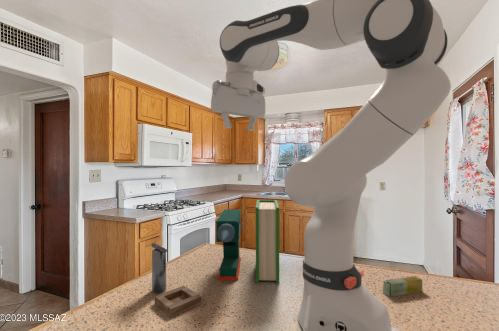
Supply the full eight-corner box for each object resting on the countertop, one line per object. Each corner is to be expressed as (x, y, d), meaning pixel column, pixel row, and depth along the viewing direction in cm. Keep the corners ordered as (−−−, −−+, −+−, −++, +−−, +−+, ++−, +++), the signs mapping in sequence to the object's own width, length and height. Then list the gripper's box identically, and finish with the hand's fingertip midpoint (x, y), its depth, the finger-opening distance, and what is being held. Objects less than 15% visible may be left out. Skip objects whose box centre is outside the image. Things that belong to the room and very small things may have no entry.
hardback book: (279, 283, 84) (279, 207, 84) (255, 283, 85) (255, 207, 85) (276, 262, 102) (276, 200, 102) (257, 262, 102) (257, 200, 102)
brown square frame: (201, 303, 72) (201, 296, 72) (170, 317, 66) (170, 309, 66) (183, 292, 79) (183, 285, 79) (154, 303, 72) (154, 296, 72)
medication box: (389, 298, 75) (389, 284, 75) (382, 293, 78) (382, 279, 78) (422, 292, 79) (423, 278, 79) (414, 288, 81) (415, 275, 81)
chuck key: (172, 292, 78) (172, 247, 78) (159, 297, 76) (159, 250, 76) (159, 283, 84) (158, 241, 84) (146, 287, 82) (146, 244, 82)
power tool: (236, 301, 73) (236, 228, 73) (211, 301, 73) (211, 228, 73) (242, 260, 105) (242, 209, 105) (224, 259, 105) (224, 209, 105)
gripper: (219, 76, 75) (219, 125, 75) (268, 89, 89) (268, 130, 89) (206, 81, 80) (206, 127, 80) (255, 92, 94) (255, 132, 94)
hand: (239, 129), depth 85 cm, fingers open, 8 cm apart
